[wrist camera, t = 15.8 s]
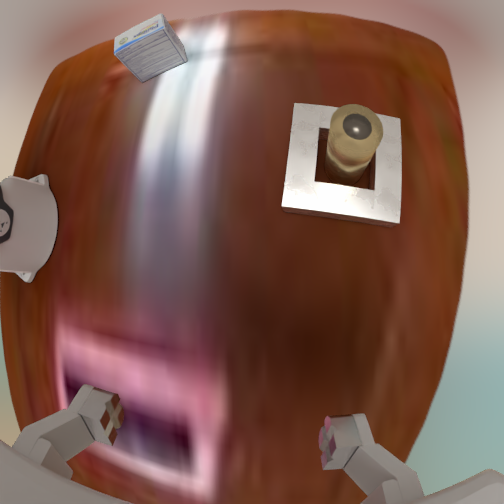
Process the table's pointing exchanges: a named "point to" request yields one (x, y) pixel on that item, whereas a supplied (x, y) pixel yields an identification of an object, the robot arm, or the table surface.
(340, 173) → the brass bushing
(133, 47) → the medicine box
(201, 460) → the table surface
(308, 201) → the aluminium jig
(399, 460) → the robot arm
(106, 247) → the table surface
